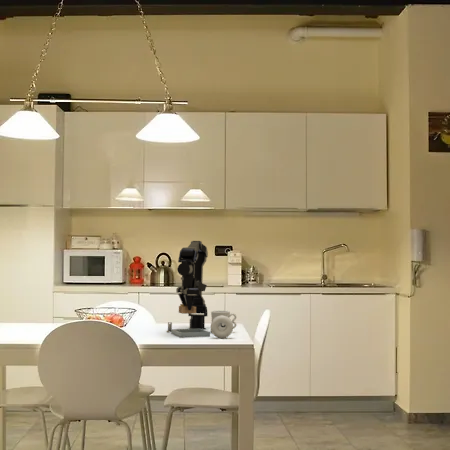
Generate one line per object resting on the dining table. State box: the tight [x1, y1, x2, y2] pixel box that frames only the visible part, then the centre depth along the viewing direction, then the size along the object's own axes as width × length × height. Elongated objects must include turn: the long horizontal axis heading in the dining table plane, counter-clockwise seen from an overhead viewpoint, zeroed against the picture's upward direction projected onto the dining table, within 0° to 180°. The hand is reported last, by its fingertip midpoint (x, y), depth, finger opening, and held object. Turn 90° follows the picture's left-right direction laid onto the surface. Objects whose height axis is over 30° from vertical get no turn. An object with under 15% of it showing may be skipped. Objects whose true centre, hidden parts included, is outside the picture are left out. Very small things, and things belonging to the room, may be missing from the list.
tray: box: [170, 328, 211, 338], centre depth 303 cm, size 14×14×2 cm
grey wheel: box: [210, 315, 234, 339], centre depth 294 cm, size 10×4×10 cm, turn 87°
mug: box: [210, 310, 237, 333], centre depth 314 cm, size 12×9×10 cm
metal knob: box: [166, 321, 173, 333], centre depth 313 cm, size 3×3×4 cm
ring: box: [178, 303, 197, 315], centre depth 304 cm, size 6×6×4 cm
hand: (187, 309), depth 304 cm, fingers closed on ring, 6 cm apart
